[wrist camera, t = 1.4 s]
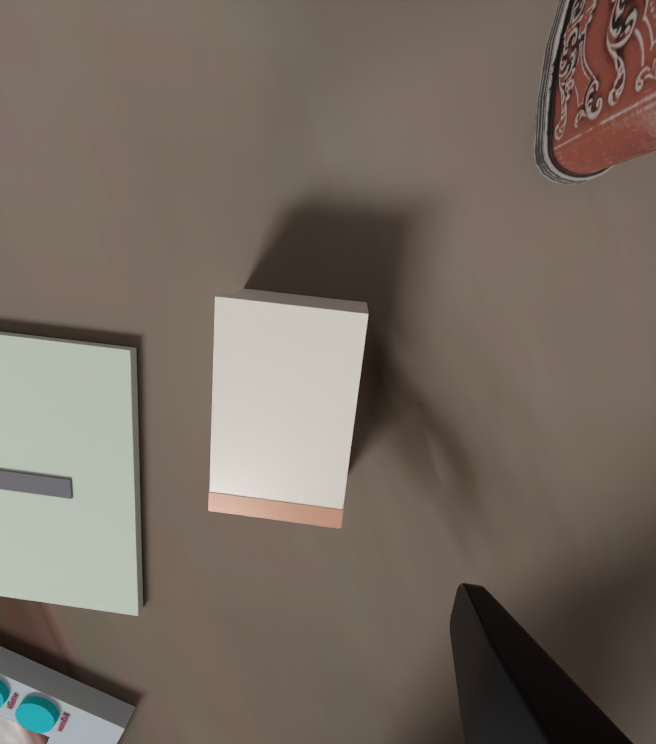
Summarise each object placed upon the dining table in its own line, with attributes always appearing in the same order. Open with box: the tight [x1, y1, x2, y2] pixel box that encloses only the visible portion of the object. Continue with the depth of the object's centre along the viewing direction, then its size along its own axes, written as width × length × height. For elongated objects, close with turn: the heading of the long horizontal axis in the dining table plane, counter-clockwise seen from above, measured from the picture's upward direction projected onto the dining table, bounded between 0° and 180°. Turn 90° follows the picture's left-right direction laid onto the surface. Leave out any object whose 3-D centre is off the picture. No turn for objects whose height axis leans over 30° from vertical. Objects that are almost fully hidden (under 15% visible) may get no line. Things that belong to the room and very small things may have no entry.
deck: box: [208, 289, 369, 529], centre depth 16 cm, size 5×8×4 cm, turn 174°
